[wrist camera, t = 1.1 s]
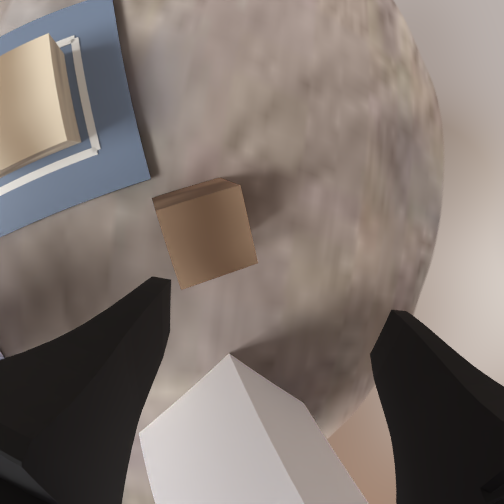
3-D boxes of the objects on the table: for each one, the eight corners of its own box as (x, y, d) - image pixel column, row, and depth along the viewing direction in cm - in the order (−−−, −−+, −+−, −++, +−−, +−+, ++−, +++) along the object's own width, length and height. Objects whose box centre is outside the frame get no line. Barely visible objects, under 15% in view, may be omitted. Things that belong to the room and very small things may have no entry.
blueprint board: (-19, 245, 15) (-23, 248, 15) (-54, 74, 10) (-58, 72, 10) (150, 178, 19) (150, 178, 18) (112, -3, 14) (111, -8, 13)
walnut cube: (171, 262, 21) (181, 289, 17) (152, 197, 19) (155, 210, 15) (234, 241, 22) (258, 263, 18) (219, 177, 20) (240, 185, 16)
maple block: (-1, 178, 14) (-29, 186, 11) (-17, 92, 12) (-46, 83, 9) (81, 142, 16) (67, 140, 12) (64, 54, 14) (48, 33, 10)
